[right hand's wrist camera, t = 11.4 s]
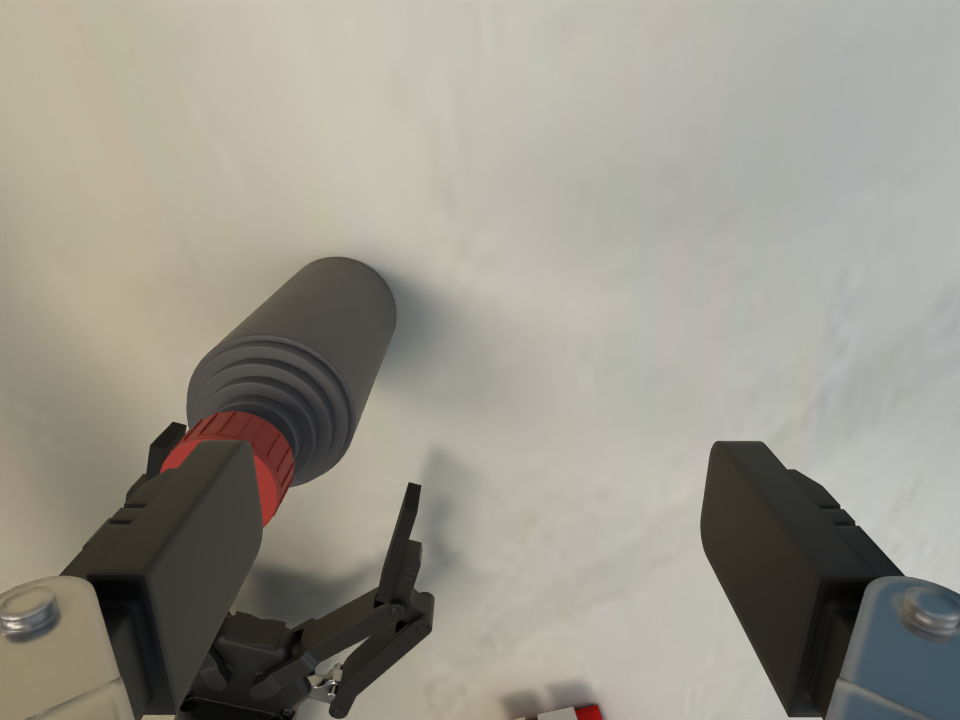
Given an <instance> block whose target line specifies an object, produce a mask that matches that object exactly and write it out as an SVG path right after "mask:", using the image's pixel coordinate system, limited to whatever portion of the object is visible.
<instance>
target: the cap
mask: <svg viewBox="0 0 960 720" xmlns="http://www.w3.org/2000/svg"><path fill="white" fill-rule="evenodd" d="M202 440H247V441H248V442H249V443H250V444H251V446H252V449H253V453H254V460H255V467H256V474H257V481H258V488H259V495H260V502H261V509H262V517H263V527H264V526H265V525H267V524H268V522H269V521H270V520H271V518H272V517H273V516H274V515H275V513H276V511H277V509H278V508H279V506H280V504H281V502H282V500H283V498H284V496H285V494H286V492H287V490H288V488H289V486H290V484H291V482H292V480H293V478H294V477H292V476H293V471H294V466H295V462H294V460H293V455H292V451H291V450H292V448H291V447H290V446H289V444H288V442H287V440H286V439H285V437H284V436H283V434H282V433H281V432H280V431H279V430H278V429H277V428H276V427H275V426H273V425H272V424H270V422H268V421H266V420H264V419H262V418H260V417H258V416H256V415H253V414H249V413H245V412H237V411H229V412H221V413H217V412H216V413H214V415H211V416H208V417H207V418H205V419H200V420H199V421H198V422H197V424H196V425H195V426H194V427H193V428H192V429H190V430H189V431H188V432H187V433H186V434H185V435H184V436H183V437H182V439H181V440H180V441H179V442H178V443H177V444H176V445H175V446H174V447H173V449H172V450H171V451H170V455H169V456H168V457H167V458H166V460H165V461H164V463H163V465H162V467H161V471H160V473H162V472H164V471H165V470H167V469H169V468H178V467H179V466H180V464H181V463H182V462H183V461H184V460H185V459H186V457H187V456H188V455H189V454H190V453H191V452H192V450H193V449H194V448H195V447H196V446H197V444H198V443H199V442H200V441H202Z"/></svg>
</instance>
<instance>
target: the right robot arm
mask: <svg viewBox="0 0 960 720" xmlns="http://www.w3.org/2000/svg"><path fill="white" fill-rule="evenodd" d="M700 528H701V539H702V544H703V548H704V551H705V554H706V556H707V558H708V560H709V562H710V564H711V566H712V568H713V570H714V572H715V574H716V576H717V578H718V580H719V582H720V584H721V586H722V588H723V590H724V592H725V594H726V596H727V598H728V599H729V601H730V603H731V605H732V607H733V609H734V611H735V613H736V615H737V617H738V619H739V621H740V623H741V625H742V627H743V629H744V631H745V633H746V635H747V637H748V639H749V641H750V643H751V644H752V646H753V648H754V650H755V652H756V654H757V656H758V658H759V660H760V662H761V664H762V666H763V668H764V670H765V672H766V674H767V676H768V678H769V680H770V682H771V684H772V686H773V688H774V689H775V691H776V693H777V695H778V697H779V699H780V701H781V703H782V705H783V707H784V709H785V711H786V713H787V715H788V717H822V719H823V720H960V594H958V593H956V592H954V591H952V590H950V589H948V588H946V587H943V586H941V585H938V584H935V583H932V582H929V581H926V580H922V579H918V578H913V577H906V576H905V575H904V574H903V573H902V572H901V571H900V570H899V569H898V568H897V567H896V565H895V564H894V563H893V562H892V561H891V560H890V559H889V558H888V557H887V556H886V555H885V553H884V552H883V551H882V550H881V549H880V548H879V547H878V546H877V545H876V544H875V543H874V542H873V540H872V539H871V538H870V537H869V536H868V535H867V534H866V533H865V532H864V531H863V530H862V528H861V527H860V526H856V525H855V521H854V520H853V519H852V518H851V516H850V515H849V514H848V513H847V512H846V511H845V510H844V509H841V508H840V504H839V503H838V502H837V501H836V500H835V499H834V498H833V497H832V496H831V495H830V494H829V493H828V491H827V490H826V489H825V488H824V487H823V486H822V485H820V484H818V483H817V482H815V481H813V480H812V479H810V478H808V477H807V476H805V475H803V474H802V473H800V472H798V471H797V470H795V469H786V468H785V467H784V465H783V464H782V463H781V462H780V461H779V460H778V458H777V457H776V456H775V455H774V454H773V453H772V451H771V450H770V449H769V448H768V447H767V446H766V445H765V444H764V443H763V442H761V441H717V442H715V443H714V444H713V446H712V448H711V452H710V457H709V464H708V471H707V478H706V485H705V492H704V499H703V506H702V513H701V523H700ZM262 532H263V517H262V509H261V502H260V495H259V488H258V481H257V474H256V467H255V460H254V453H253V449H252V446H251V444H250V443H249V442H248V441H247V440H202V441H200V442H199V443H198V444H197V446H196V447H195V448H194V449H193V450H192V452H191V453H190V454H189V455H188V456H187V457H186V459H185V460H184V461H183V462H182V463H181V464H180V466H179V467H178V468H169V469H167V470H165V471H164V472H162V473H160V474H159V475H157V476H155V477H154V478H152V479H150V480H149V481H147V482H145V483H144V484H142V485H141V486H140V487H139V488H138V489H137V490H136V492H135V493H134V494H133V495H132V496H131V497H130V498H129V499H128V500H127V501H126V503H125V504H124V508H120V509H119V510H118V511H117V512H116V514H115V515H114V516H113V517H112V518H111V519H110V523H109V524H106V525H105V526H104V527H103V528H102V529H101V530H100V531H99V532H98V533H97V534H96V536H95V537H94V538H93V539H92V540H91V541H90V542H89V543H88V544H87V545H86V546H85V548H84V549H83V550H82V551H81V552H80V553H79V554H78V555H77V556H76V557H75V559H74V560H73V561H72V562H71V563H70V564H69V565H68V566H67V567H66V568H65V570H64V571H63V572H62V573H61V574H60V575H59V576H55V577H47V578H42V579H38V580H34V581H31V582H28V583H25V584H22V585H19V586H17V587H14V588H12V589H10V590H8V591H6V592H4V593H2V594H0V720H141V719H142V717H143V715H176V714H177V712H178V710H179V708H180V706H181V704H182V703H183V701H184V699H185V697H186V695H187V693H188V691H189V689H190V687H191V685H192V683H193V681H194V679H195V677H196V675H197V673H198V671H199V669H200V667H201V665H202V663H203V661H204V659H205V657H206V655H207V653H208V651H209V649H210V647H211V645H212V643H213V641H214V639H215V637H216V635H217V633H218V631H219V629H220V627H221V625H222V623H223V621H224V619H225V617H226V615H227V613H228V611H229V609H230V607H231V605H232V603H233V601H234V599H235V598H236V596H237V594H238V592H239V590H240V588H241V586H242V584H243V582H244V580H245V578H246V576H247V574H248V572H249V570H250V568H251V566H252V564H253V562H254V560H255V558H256V556H257V554H258V551H259V548H260V544H261V540H262Z"/></svg>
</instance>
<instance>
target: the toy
mask: <svg viewBox="0 0 960 720" xmlns="http://www.w3.org/2000/svg"><path fill="white" fill-rule="evenodd" d="M513 720H526V719H525V717H523V718H518V719H513ZM536 720H602V717H601V714H600V711H599V708H598V705H595V706H591V707H586V708H582V709H578V710H574V707H569V708H564V709H560V710H555V711H550V712H546V713H541V714H538V719H536Z"/></svg>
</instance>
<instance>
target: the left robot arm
mask: <svg viewBox="0 0 960 720" xmlns="http://www.w3.org/2000/svg"><path fill="white" fill-rule="evenodd" d="M185 432H186V425H184V424H180V423H176V422H172V423H171V424H170V425H169V426H168V427H167V428H166V429H165V430H164V432H163V433H162V434H161V435H160V436H159V437H158V438H157V439H156V440H155V441H154V442H153V443H152V444H151V445H150V450H149V458H148V465H147V473H146V474H143V475H142V476H141V477H140V478H139V479H138V480H137V481H136V483H135V484H134V485H133V486H132V487H131V488H130V490H129V491H128V493H127V495H126V501H127V500H128V499H129V498H130V497H131V496H132V495H133V494H134V493H135V492H136V490H137V489H138V488H139V487H140V486H141V485H142V484H144V483H145V482H147V481H149V480H150V479H152V478H154V477H155V476H157V475H159V474H160V471H161V467H162V465H163V463H164V461H165V460H166V458H167V457H168V456H169V455H170V451H171V450H172V449H173V447H174V446H175V445H176V444H177V443H178V442H179V441H180V440H181V439H182V437H183V436H184V435H185ZM420 491H421V485H418V484H414V483H410V482H409V483H408V487H407V490H406V493H405V496H404V500H403V503H402V506H401V510H400V513H399V516H398V520H397V523H396V526H395V529H394V533H393V536H392V539H391V543H390V546H389V549H388V553H387V556H386V559H385V563H384V566H383V569H382V574H381V578H380V583H379V587H377V588H375V589H373V590H372V591H370V592H368V593H366V594H364V595H362V596H361V597H359V598H357V599H355V600H353V601H351V602H349V603H348V604H346V605H344V606H342V607H340V608H338V609H337V610H335V611H333V612H331V613H329V614H327V615H326V616H324V617H322V618H320V619H318V620H315V619H314V618H312V619H310V620H308V621H306V622H304V623H302V624H300V625H299V626H297V627H295V628H293V629H291V630H290V629H289V628H287V627H286V626H285V625H286V622H281V621H277V620H262V619H259V618H257V617H254V616H252V615H250V614H246V613H242V612H238V611H237V613H236V615H231V613H230V612H229V611H228V613H227V615H226V617H225V619H224V621H223V623H222V625H221V627H220V629H219V631H218V633H217V635H216V637H215V639H214V641H213V643H212V645H211V647H210V649H209V651H208V653H207V655H206V657H205V659H204V661H203V663H202V665H201V667H200V669H199V671H198V673H197V675H196V677H195V679H194V681H193V683H192V685H191V687H190V689H189V691H188V693H187V695H186V697H185V699H184V701H183V703H182V704H181V706H180V708H179V710H178V712H177V714H176V715H175V719H174V720H296V717H297V713H298V709H299V706H300V704H301V703H302V702H303V701H305V700H306V699H307V698H308V697H309V698H312V699H316V700H319V701H322V702H326V703H329V704H330V708H329V714H330V715H331V716H332V717H334V718H337V719H341V718H344V717H346V716H347V714H348V712H349V710H350V708H351V706H352V704H353V702H354V700H355V698H356V696H357V695H358V694H360V693H361V692H362V691H363V690H364V689H365V688H367V687H368V686H369V685H370V684H371V683H372V682H374V681H375V680H376V679H377V678H378V677H379V676H381V675H382V674H383V673H384V672H385V671H386V670H388V669H389V668H390V667H391V666H392V665H393V664H395V663H396V662H397V661H398V660H399V659H400V658H402V657H403V656H404V655H405V654H406V653H408V652H409V651H410V650H411V649H412V648H413V647H415V646H416V645H417V644H418V643H419V642H420V641H422V640H423V639H424V638H425V637H426V636H427V635H429V634H430V632H431V631H432V624H433V613H434V602H435V599H434V596H433V595H432V594H431V593H429V592H421V593H419V592H417V591H416V590H415V589H414V588H413V587H414V584H415V581H416V578H417V574H418V571H419V568H420V565H421V557H422V544H421V542H417V541H413V540H409V537H410V534H411V530H412V527H413V524H414V521H415V518H416V515H417V510H418V504H419V497H420ZM110 519H111V518H109V519H108V520H107V521H106V522H105V523H104V524H103V525H102V526H101V527H100V528H99V529H98V531H97V532H96V533H95V534H94V535H93V536H92V537H91V538H90V539H89V541H88V542H87V543H86V544H85V545H84V546H83V549H84V548H85V546H86V545H87V544H88V543H89V542H90V541H91V540H92V539H93V538H94V537H95V536H96V534H97V533H98V532H99V531H100V530H101V529H102V528H103V527H104V526H105V525H106V524H109V523H110ZM369 636H370V637H369ZM367 637H369V638H368V639H367V640H366V641H365V642H363V643H362V644H361V645H360V646H359V647H358V648H357V649H356V650H354V651H353V652H352V653H351V654H350V655H349V656H348V658H347V659H346V660H345V662H344V664H343V665H342V664H340V663H338V664H335V666H334V669H331V670H330V671H329V672H328V673H327V674H325V675H322V676H319V675H316V672H315V668H316V666H317V665H318V664H319V663H320V662H322V661H324V660H326V659H327V658H329V657H331V656H333V655H335V654H337V653H339V652H341V651H343V650H344V649H346V648H348V647H350V646H352V645H354V644H356V643H358V642H360V641H362V640H363V639H365V638H367Z"/></svg>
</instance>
